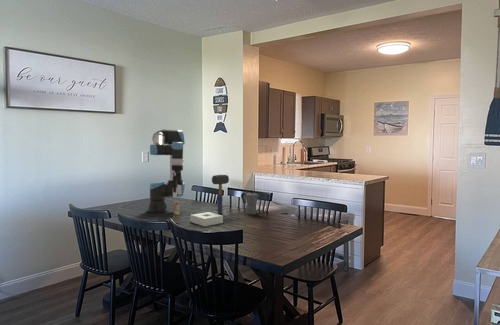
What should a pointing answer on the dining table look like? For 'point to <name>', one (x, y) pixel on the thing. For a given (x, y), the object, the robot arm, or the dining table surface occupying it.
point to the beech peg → (176, 212)
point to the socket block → (206, 219)
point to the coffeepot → (250, 202)
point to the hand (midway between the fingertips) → (177, 195)
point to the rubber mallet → (220, 188)
